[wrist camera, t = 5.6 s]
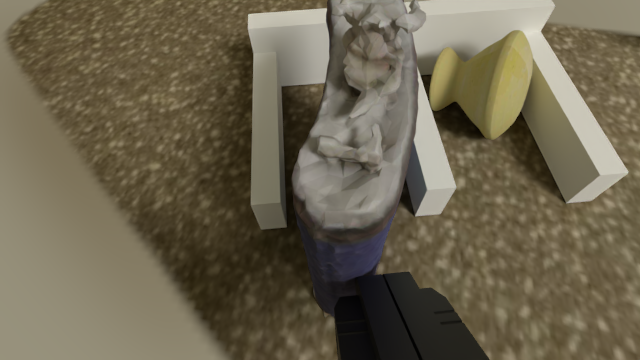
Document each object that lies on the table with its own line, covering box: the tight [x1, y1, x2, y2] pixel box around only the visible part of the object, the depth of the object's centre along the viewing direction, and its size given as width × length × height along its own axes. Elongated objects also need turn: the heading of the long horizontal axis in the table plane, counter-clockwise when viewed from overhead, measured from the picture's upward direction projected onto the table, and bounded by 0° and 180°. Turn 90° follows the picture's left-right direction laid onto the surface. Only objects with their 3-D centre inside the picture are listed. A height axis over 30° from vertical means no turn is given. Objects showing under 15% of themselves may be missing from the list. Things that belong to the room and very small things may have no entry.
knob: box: [429, 30, 533, 139], centre depth 18 cm, size 5×5×5 cm
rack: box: [248, 0, 629, 230], centre depth 18 cm, size 16×10×4 cm, turn 95°
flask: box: [291, 0, 426, 317], centre depth 12 cm, size 9×3×11 cm, turn 173°
